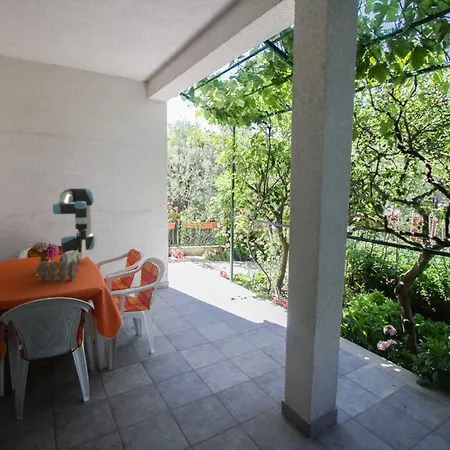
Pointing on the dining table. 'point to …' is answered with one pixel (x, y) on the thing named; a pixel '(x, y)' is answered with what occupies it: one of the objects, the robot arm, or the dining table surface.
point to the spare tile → (83, 250)
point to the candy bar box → (69, 259)
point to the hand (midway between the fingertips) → (82, 255)
